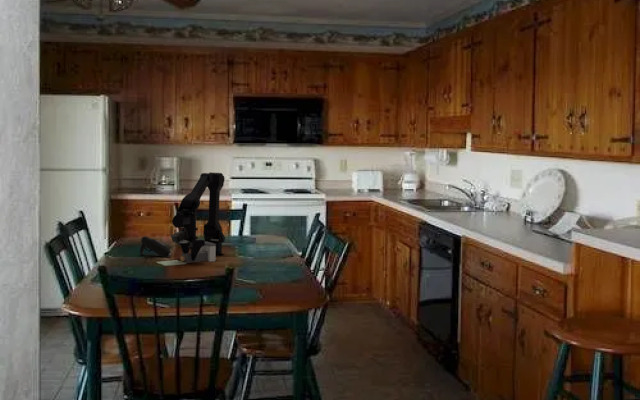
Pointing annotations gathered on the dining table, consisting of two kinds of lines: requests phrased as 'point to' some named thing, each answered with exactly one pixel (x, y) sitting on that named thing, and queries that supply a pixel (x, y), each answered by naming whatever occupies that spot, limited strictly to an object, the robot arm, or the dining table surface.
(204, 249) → the clip
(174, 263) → the mat
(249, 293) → the dining table surface
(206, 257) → the grey tall block
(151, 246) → the gun
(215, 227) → the robot arm
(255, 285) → the dining table surface
